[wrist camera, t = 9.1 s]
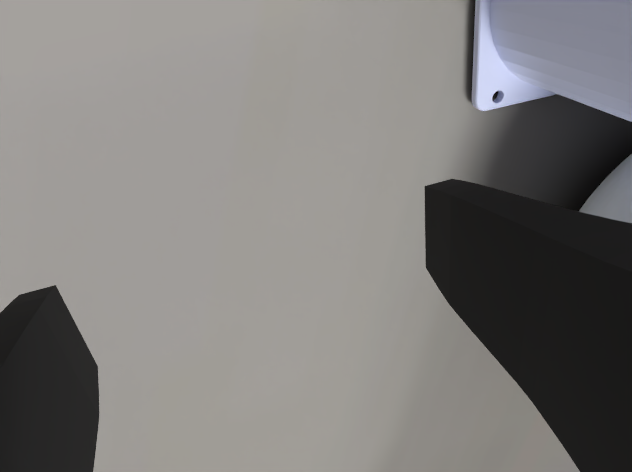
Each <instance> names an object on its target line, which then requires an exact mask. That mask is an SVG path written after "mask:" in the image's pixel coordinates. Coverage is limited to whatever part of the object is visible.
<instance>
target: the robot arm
mask: <svg viewBox="0 0 632 472" xmlns="http://www.w3.org/2000/svg"><path fill="white" fill-rule="evenodd" d="M496 91H498V96H497V98H496V99H495V100H492V97H493V94H494V93H495V92H496ZM556 94H559V95H561V96H564V97H567V98H569V99H572V100H575V101H577V102H580V103H583V104H585V105H588V106H591V107H593V108H596V109H598V110H601V111H604V112H606V113H609V114H612V115H614V116H617V117H620V118H622V119H625V120H628V121H630V122H632V0H476V2H475V27H474V52H473V77H472V104H473V106H474V107H475V108H477V109H479V110H481V111H487V110H492V109H496V108H500V107H504V106H509V105H513V104H517V103H522V102H526V101H530V100H534V99H539V98H543V97H547V96H552V95H556ZM425 238H426V268H427V270H428V272H429V273H430V275H431V277H432V278H433V280H434V282H435V283H436V285H437V286H438V288H439V290H440V291H441V293H442V294H443V296H444V297H445V299H446V300H447V302H448V303H449V304H450V306H451V307H452V308H453V309H454V311H455V312H456V313H457V314H458V315H459V316H460V318H461V319H462V320H463V321H464V322H465V324H466V325H467V326H468V327H469V328H470V329H471V331H472V332H473V333H474V334H475V335H476V336H477V337H478V339H479V340H480V341H481V342H482V343H483V344H484V346H485V347H486V348H487V349H488V350H489V351H490V352H491V354H492V355H493V356H494V357H495V358H496V359H497V360H498V362H499V363H500V364H501V365H502V366H503V367H504V368H505V370H506V371H507V372H508V373H509V374H510V375H511V377H512V378H513V379H514V380H515V381H516V382H517V383H518V385H519V386H520V387H521V388H522V390H523V391H524V392H525V393H526V395H527V396H528V397H529V398H530V400H531V401H532V402H533V404H534V405H535V406H536V408H537V409H538V411H539V412H540V414H541V415H542V416H543V418H544V419H545V421H546V422H547V424H548V425H549V426H550V428H551V429H552V431H553V432H554V434H555V435H556V436H557V438H558V439H559V441H560V442H561V443H562V445H563V446H564V448H565V449H566V451H567V452H568V454H569V455H570V457H571V458H572V460H573V461H574V463H575V464H576V466H577V468H578V469H579V471H580V472H632V223H628V222H623V221H618V220H613V219H609V218H605V217H600V216H596V215H591V214H587V213H583V212H578V211H574V210H571V209H567V208H563V207H559V206H555V205H551V204H548V203H544V202H540V201H537V200H533V199H529V198H526V197H522V196H519V195H515V194H512V193H508V192H505V191H501V190H497V189H494V188H490V187H486V186H483V185H479V184H475V183H471V182H466V181H461V180H455V179H450V180H446V181H442V182H439V183H435V184H431V185H428V186H425ZM98 422H99V387H98V366H97V364H96V362H95V360H94V358H93V357H92V355H91V353H90V351H89V349H88V347H87V345H86V343H85V341H84V339H83V337H82V335H81V333H80V332H79V330H78V328H77V326H76V324H75V322H74V320H73V318H72V316H71V314H70V312H69V310H68V308H67V306H66V305H65V303H64V301H63V299H62V297H61V295H60V293H59V291H58V289H57V287H56V285H55V286H51V287H47V288H44V289H40V290H36V291H32V292H29V293H25V294H21V295H19V296H18V297H17V298H15V299H14V300H13V301H12V302H11V303H10V304H9V305H8V306H7V307H6V308H5V309H4V310H3V311H2V312H1V313H0V472H93V467H94V459H95V450H96V441H97V432H98Z"/></svg>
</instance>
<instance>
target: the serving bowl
mask: <svg viewBox="0 0 632 472" xmlns="http://www.w3.org/2000/svg"><path fill="white" fill-rule="evenodd" d="M579 212H583V213H587V214H591V215H596V216H600V217H605V218H609V219H613V220H618V221H623V222H628V223H632V154H631V155H630V156H628V157H627V158H626V159H625V160H624V161H623V162H622V163H621V164H620V165H619V166H618V167H616V168H615V169H614V170H613V171H612V172H611V173H610V174H609V175H608V176H607V177H606V179H605V180H604V181H603V182H602V183H601V184H600V185H599V186H598V187H597V188H596V190H595V191H594V192H593V193H592V194H591V196H590V197H589V198H588V199H587V201H586V202H585V203H584V205H583V206H582V207H581V209H580V210H579Z"/></svg>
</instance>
